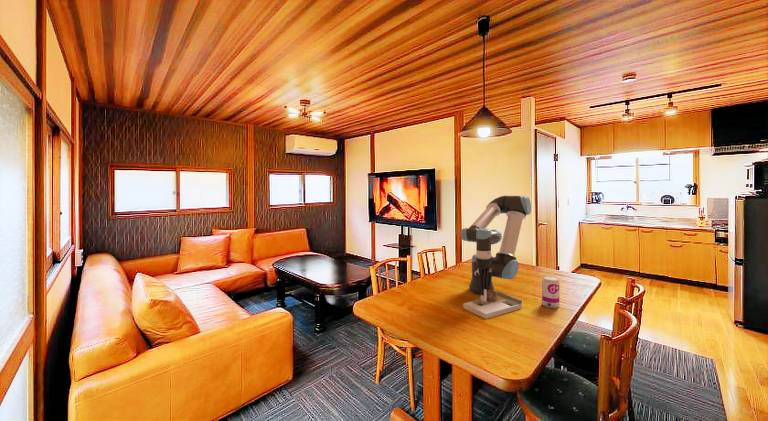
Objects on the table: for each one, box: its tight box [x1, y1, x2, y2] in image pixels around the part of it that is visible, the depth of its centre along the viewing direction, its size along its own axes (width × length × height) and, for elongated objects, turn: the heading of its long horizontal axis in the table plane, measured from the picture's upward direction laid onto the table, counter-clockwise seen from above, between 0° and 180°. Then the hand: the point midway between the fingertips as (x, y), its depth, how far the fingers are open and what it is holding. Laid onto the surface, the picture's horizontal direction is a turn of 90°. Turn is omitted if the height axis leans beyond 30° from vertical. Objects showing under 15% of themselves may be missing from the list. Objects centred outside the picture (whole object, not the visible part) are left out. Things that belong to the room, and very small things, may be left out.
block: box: [487, 290, 497, 303], centre depth 166 cm, size 5×5×5 cm
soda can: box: [541, 276, 561, 309], centre depth 163 cm, size 8×8×15 cm
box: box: [462, 291, 523, 320], centre depth 162 cm, size 26×16×4 cm, turn 118°
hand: (483, 300), depth 164 cm, fingers closed
